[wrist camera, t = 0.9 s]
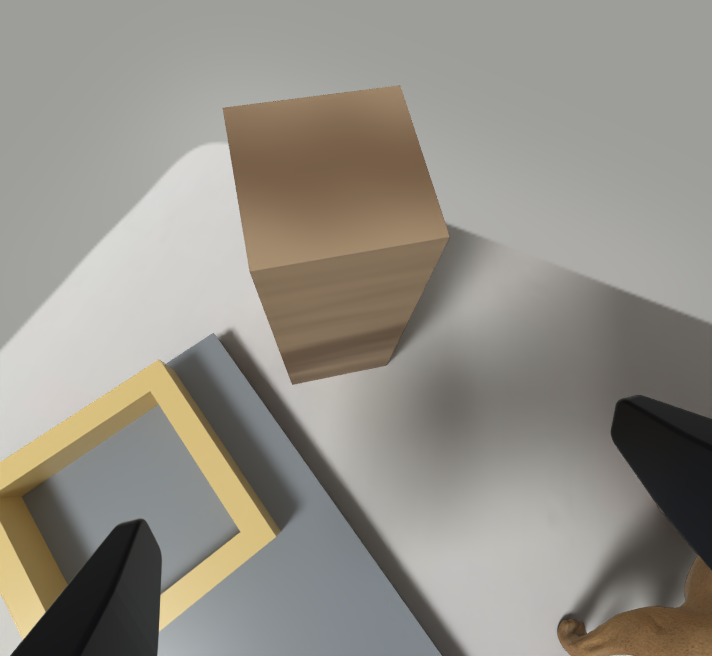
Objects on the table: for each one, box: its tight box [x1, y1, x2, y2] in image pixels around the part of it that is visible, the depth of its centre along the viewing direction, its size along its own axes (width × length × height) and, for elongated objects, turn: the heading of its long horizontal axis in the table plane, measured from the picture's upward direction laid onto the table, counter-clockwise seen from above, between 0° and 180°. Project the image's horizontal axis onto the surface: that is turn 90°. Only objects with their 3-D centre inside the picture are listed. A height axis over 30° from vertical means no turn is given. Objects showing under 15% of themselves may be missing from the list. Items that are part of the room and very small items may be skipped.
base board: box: [0, 333, 442, 656], centre depth 18 cm, size 22×12×3 cm, turn 38°
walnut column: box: [223, 86, 450, 385], centre depth 18 cm, size 5×5×13 cm
